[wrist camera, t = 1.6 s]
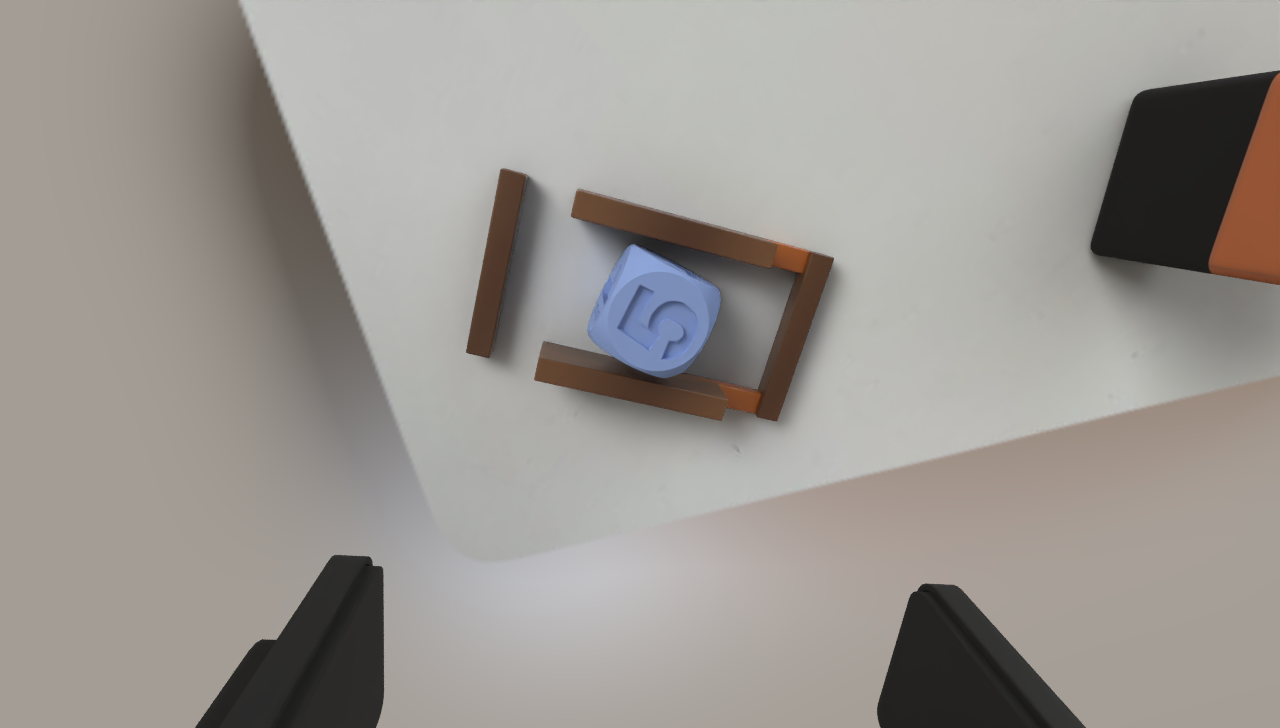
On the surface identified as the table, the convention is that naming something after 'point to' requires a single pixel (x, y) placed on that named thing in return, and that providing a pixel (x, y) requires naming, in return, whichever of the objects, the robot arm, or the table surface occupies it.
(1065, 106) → the table surface
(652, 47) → the table surface
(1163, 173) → the battery
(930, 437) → the table surface
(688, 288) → the decorative dice
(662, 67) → the table surface
